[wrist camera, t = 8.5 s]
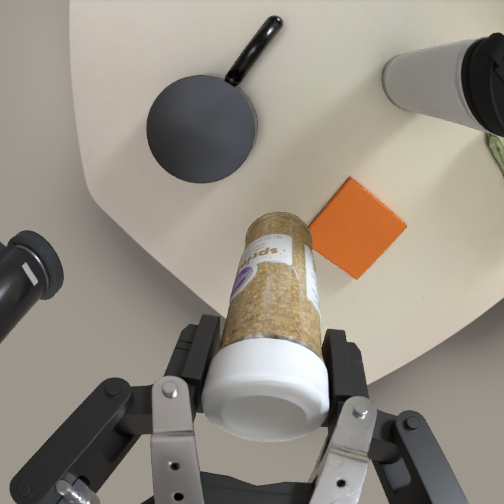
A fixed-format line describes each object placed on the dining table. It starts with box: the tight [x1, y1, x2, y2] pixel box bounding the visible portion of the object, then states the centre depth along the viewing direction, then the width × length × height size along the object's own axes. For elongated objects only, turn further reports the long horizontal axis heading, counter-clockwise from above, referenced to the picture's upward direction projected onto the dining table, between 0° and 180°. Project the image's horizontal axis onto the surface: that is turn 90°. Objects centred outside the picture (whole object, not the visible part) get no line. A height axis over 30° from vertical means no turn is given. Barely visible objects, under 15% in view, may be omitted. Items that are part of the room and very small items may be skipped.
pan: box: [146, 16, 283, 183], centre depth 29 cm, size 11×19×3 cm, turn 146°
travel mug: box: [382, 33, 504, 138], centre depth 18 cm, size 6×7×20 cm
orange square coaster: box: [308, 177, 407, 280], centre depth 35 cm, size 9×9×1 cm
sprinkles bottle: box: [201, 212, 329, 442], centre depth 16 cm, size 5×5×14 cm
